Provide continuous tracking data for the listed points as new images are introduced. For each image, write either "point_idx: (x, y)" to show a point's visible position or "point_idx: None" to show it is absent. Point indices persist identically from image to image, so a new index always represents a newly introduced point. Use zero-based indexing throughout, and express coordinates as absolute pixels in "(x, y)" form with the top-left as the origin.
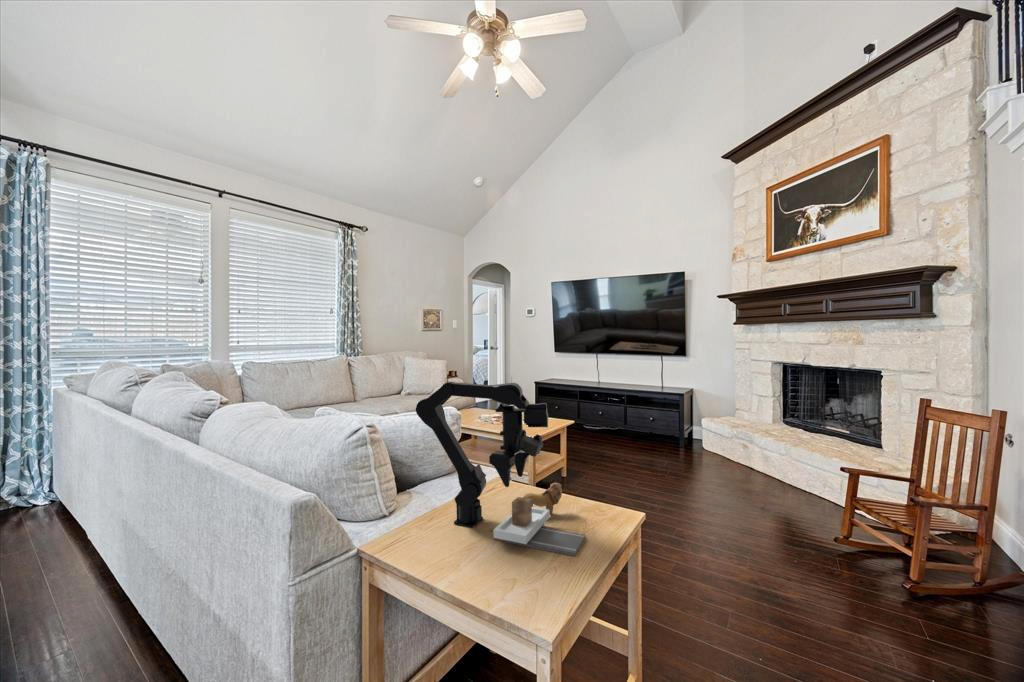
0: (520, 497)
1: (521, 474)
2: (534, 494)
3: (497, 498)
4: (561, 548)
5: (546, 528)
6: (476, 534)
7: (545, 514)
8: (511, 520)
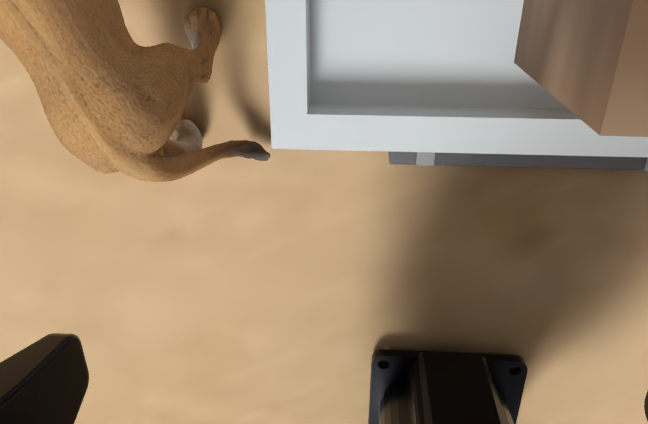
0: (622, 86)
1: (56, 365)
2: (66, 61)
3: None
4: None
5: None
6: (609, 298)
7: None
8: None
